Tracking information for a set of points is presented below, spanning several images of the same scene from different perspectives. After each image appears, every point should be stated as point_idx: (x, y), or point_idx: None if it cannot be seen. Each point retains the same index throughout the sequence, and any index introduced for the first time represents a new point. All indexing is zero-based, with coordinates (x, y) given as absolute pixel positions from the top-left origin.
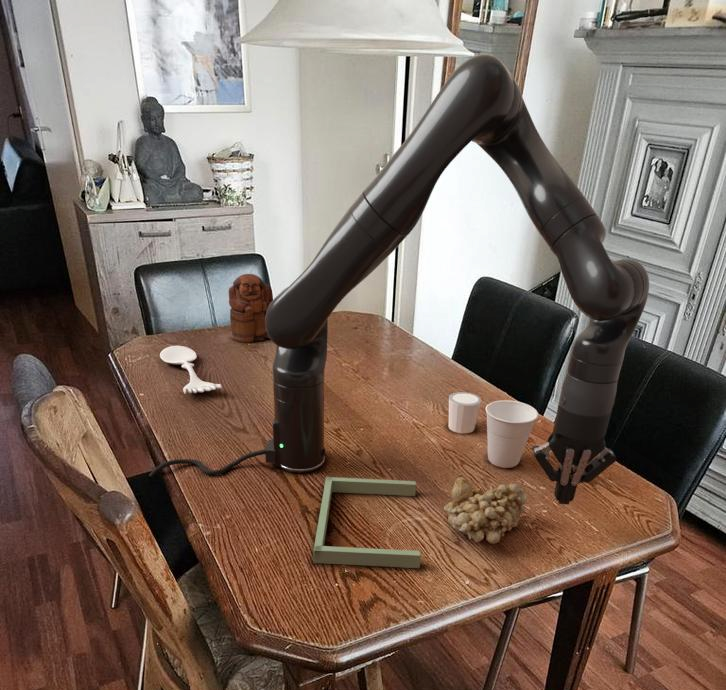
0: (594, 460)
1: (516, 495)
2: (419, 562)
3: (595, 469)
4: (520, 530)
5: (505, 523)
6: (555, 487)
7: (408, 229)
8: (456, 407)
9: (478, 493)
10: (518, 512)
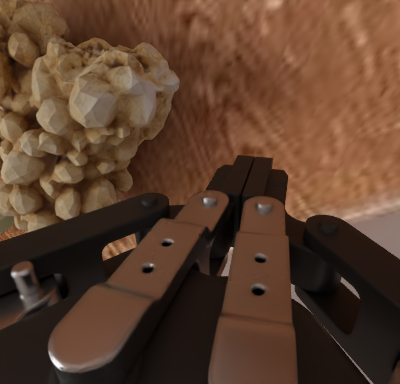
0: (387, 316)
1: (107, 133)
2: (5, 230)
3: (350, 352)
4: (182, 116)
5: None
6: (210, 182)
7: None
8: None
9: (21, 63)
10: (157, 102)
